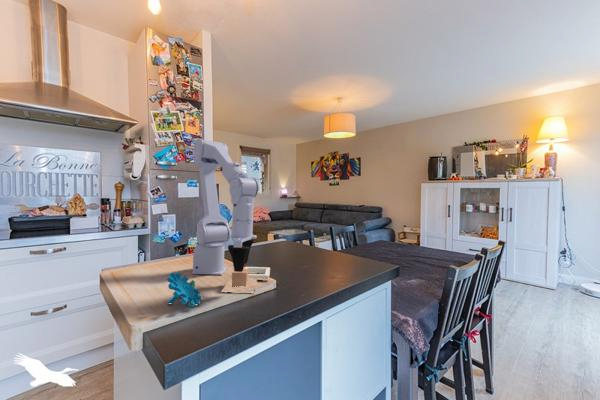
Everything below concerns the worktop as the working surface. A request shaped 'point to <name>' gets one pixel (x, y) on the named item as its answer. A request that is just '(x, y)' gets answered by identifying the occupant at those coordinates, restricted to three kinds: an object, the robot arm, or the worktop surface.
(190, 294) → the teal spiky cog
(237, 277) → the light brown wooden cube
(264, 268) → the socket
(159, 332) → the worktop surface
